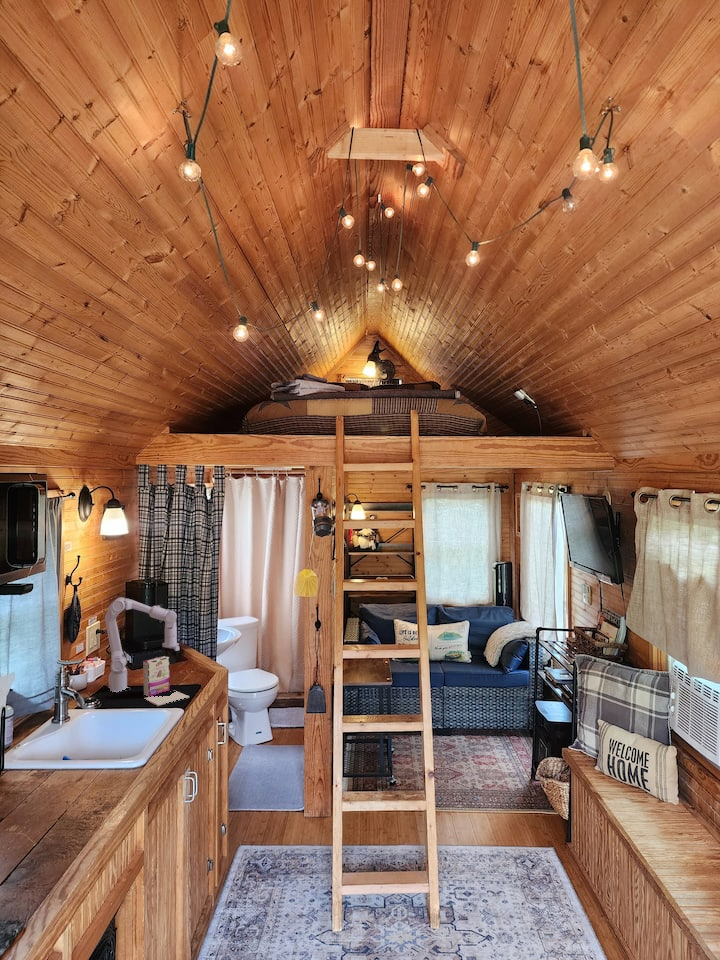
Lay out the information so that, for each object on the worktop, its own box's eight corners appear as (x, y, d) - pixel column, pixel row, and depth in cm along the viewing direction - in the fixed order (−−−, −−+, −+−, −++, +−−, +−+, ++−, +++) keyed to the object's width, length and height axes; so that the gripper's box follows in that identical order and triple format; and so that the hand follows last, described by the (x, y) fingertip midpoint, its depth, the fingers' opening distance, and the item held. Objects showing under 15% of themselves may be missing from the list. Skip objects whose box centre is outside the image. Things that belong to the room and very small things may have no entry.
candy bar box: (164, 690, 275) (164, 655, 276) (170, 692, 272) (170, 656, 273) (142, 696, 266) (142, 660, 267) (148, 698, 263) (148, 662, 264)
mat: (144, 699, 261) (144, 698, 261) (174, 691, 272) (174, 690, 272) (157, 705, 251) (157, 704, 251) (189, 697, 262) (189, 696, 262)
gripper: (185, 636, 284) (185, 664, 283) (171, 632, 294) (171, 659, 293) (171, 638, 279) (172, 666, 278) (158, 634, 289) (158, 662, 288)
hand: (171, 663), depth 285 cm, fingers open, 3 cm apart
